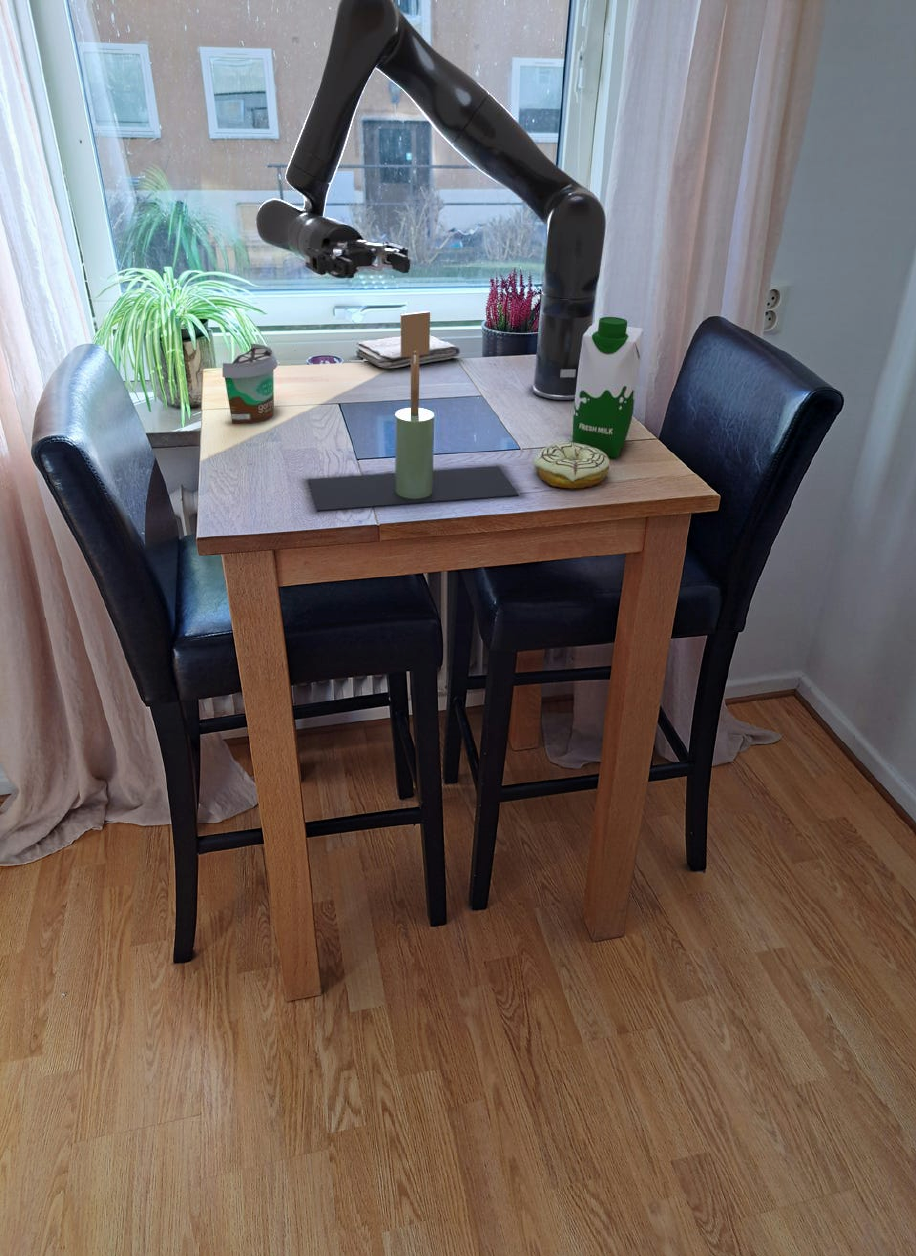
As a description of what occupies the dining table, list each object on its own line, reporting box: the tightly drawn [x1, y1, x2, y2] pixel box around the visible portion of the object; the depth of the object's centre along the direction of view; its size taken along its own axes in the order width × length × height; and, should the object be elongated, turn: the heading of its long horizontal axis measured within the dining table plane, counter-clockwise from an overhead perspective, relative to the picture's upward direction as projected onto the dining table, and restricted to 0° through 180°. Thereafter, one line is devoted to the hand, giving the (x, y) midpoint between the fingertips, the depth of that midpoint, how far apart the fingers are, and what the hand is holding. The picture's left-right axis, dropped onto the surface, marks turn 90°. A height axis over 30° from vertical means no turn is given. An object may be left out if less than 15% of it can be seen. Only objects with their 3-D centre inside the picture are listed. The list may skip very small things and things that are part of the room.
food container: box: [222, 342, 278, 425], centre depth 143 cm, size 12×6×10 cm, turn 169°
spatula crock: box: [394, 310, 435, 499], centre depth 116 cm, size 5×5×24 cm
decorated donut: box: [533, 441, 611, 489], centre depth 128 cm, size 10×11×4 cm
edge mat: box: [307, 465, 520, 512], centre depth 124 cm, size 28×10×1 cm, turn 104°
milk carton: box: [572, 316, 644, 460], centre depth 134 cm, size 9×9×20 cm
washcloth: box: [355, 334, 461, 370], centre depth 174 cm, size 12×18×3 cm, turn 124°
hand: (379, 268), depth 123 cm, fingers open, 8 cm apart
